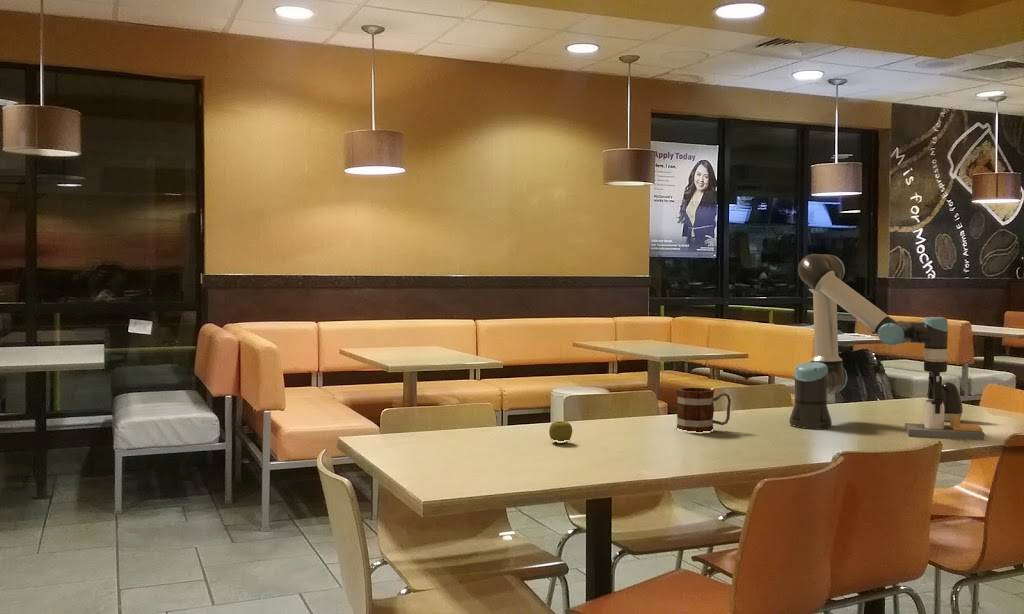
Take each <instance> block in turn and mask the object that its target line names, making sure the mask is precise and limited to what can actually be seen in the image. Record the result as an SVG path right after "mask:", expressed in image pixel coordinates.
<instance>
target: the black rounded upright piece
mask: <svg viewBox="0 0 1024 614" xmlns="http://www.w3.org/2000/svg"><path fill="white" fill-rule="evenodd" d="M942 401H943V404H944V422H947V423H948V422H949V423H950V414H957V415H958V416H959V417H960V418H961V417H962V414H963V413H964V411H963V410H964V409H963V401H962V397H961V394H960V390H959V388H958V387H957V386H956V384H955V383H953V382H952V381H946V382H944V383H942Z"/></svg>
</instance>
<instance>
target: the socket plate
mask: <svg viewBox="0 0 1024 614" xmlns="http://www.w3.org/2000/svg"><path fill="white" fill-rule="evenodd" d="M904 431H905V433H906V435H907V436H908V437H914V438H931V439H932V438H934V439H949V438H950V439H951V440H967V439H969V440H972V441H985V432H984V431H983V430H982V432H979V431H959V430H953V429H952V428H951V427H950V424H944V429H928V428H924V423H911V422H909V423H906V422H905V423H904ZM950 439H949V440H950Z"/></svg>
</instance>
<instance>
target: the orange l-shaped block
mask: <svg viewBox="0 0 1024 614" xmlns="http://www.w3.org/2000/svg"><path fill="white" fill-rule="evenodd" d="M949 425H950V427H951V428H952V429H953V430H959V431H979V432H982V431H983V428H982V427H981V426H980V425H979V424H972V423H970V424H969V423H961V417H959V416H958V415H957V414H950V422H949Z"/></svg>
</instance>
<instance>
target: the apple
mask: <svg viewBox="0 0 1024 614" xmlns="http://www.w3.org/2000/svg"><path fill="white" fill-rule="evenodd" d="M572 427H573V426H572V425H571V423H569V422H567V421H554V422H552V423H551V424H550V426H549V430H548V433H549V437H550V440H552V439H553V440H558V441H564V440H569V441H570V440H571V437H572V435H573V428H572Z"/></svg>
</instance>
